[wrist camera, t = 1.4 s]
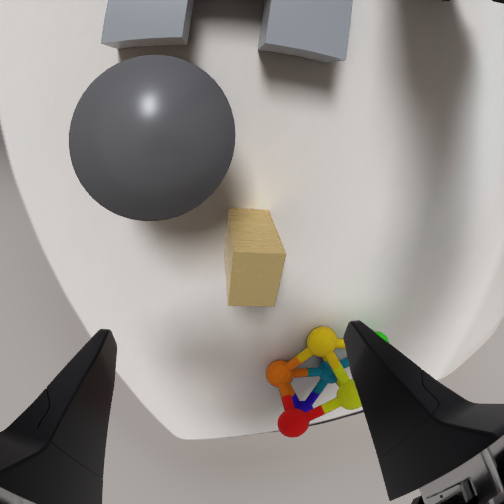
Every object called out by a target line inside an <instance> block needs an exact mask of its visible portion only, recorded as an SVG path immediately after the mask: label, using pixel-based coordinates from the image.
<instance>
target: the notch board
mask: <svg viewBox="0 0 504 504" xmlns="http://www.w3.org/2000/svg"><path fill="white" fill-rule="evenodd" d="M352 1H353V0H265V3H264V10H263V17H262V24H261V31H260V38H259V45H258V50H263V51H270V52H276V53H282V54H288V55H293V56H299V57H304V58H308V59H313V60H317V61H322V62H326V63H330V62H336V61H343V60H346V52H347V45H348V37H349V29H350V20H351V11H352ZM193 5H194V0H108V4H107V9H106V14H105V20H104V26H103V33H102V40H101V44H104V45H108V46H111V47H114V48H117V49H120V48H129V47H142V46H159V45H188V37H189V30H190V23H191V17H192V11H193Z"/></svg>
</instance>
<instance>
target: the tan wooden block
mask: <svg viewBox="0 0 504 504" xmlns="http://www.w3.org/2000/svg"><path fill="white" fill-rule="evenodd" d="M285 257H286V253H285V250H284V247H283V245H282V242H281V240H280V237H279V235H278V232H277V230H276V227H275V224H274V222H273V219H272V217H271V214H270V212H269V210H257V209H240V208H228V219H227V230H226V242H225V269H226V285H227V299H228V306H275V302H276V298H277V293H278V289H279V284H280V280H281V275H282V271H283V266H284V261H285Z"/></svg>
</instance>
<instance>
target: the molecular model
mask: <svg viewBox="0 0 504 504" xmlns="http://www.w3.org/2000/svg"><path fill="white" fill-rule="evenodd" d="M375 333H377V334H378V335H379V336H380V337H382V338H383V339H384V340H386V341H387V342H388V343H389V341H388V338H387V337H386V336H385V335H384V334H383V333H381V332H375ZM335 348H343V349H346V348H345V344H344V339H341V338H337V336H336V334H335V332H334V331H333V330H332V329H330V328H328V327H317V328H315V329H314V330H312V332H311V333H310V334H309V336H308V338H307V348H306V349H305V350H303V351H302V352H301V353H299V354H298V355H297V356H295V357H294V358H293V359H292V360H290V361H289V362H287V361H284V360H277V361H274V362H272V363H271V364H270V365H269V366H268V368H267V371H266V378H267V380H268V382H269V383H270V384H271V385H273V386H275V387H279V390H280V394H281V398H282V402H283V406H284V410H285V411H284V412H283V413H282V414H281V415H280V417H279V419H278V428H279V430H280V432H281V433H282V434H284V435H285V436H287V437H298V436H300V435H301V434H303V433H304V432H305V431H306V430H307V428H308V426H309V422H310V421H311V420H313V419H315V418H317V417H320V416H322V415H324V414H326V413H328V412H330V411H332V410H334V409H336V408H338V407H340V406H342V407H343V408H345V409H349V410H353V409H357V408H359V407H361V406H362V404H361V401H360V398H359V395H358V392H357V389H356V386H355V383H354V380H350V379H349V377H348V375H347V373H346V372H345V370H344V368H346V367H348V366H349V361H348V357H347V358H345V359H343V360H341V361H340V360H339V359H338V358H337V356H336V354H335V353H334V350H335ZM313 355H315V356H318V357H322V358H323V362H322V363H321V364H320V366H319V367H317V368H299V369H295V368H296V367H298V366H299V365H300V364H302V363H303V362H305V361H306V360H307V359H309V358H310V357H311V356H313ZM310 376H319V377H320V378H321V379H320V381H319V382H318V383H317V385H316V386H315V388H314V389H313V391H312V392H311V393H310V395H309V396H308V397H307V399H306V400H305V401H299V399H298V397H297V395H296V393H295V392H294V390H293V388H292V386H291V384H290V382H291V381H292V380H293V378H294V377H310ZM327 383H336V384H337V385H338V386H339V389H338V391H337V397H336V398H335V399H333V400H331V401H329V402H327V403H324V404H322V405H320V406H318V407H316V408H314V409H313V407H312V405H313V403H314V402H315V400H316V399H317V398H318V396H319V395H320V393H321V392H322V391H323V389H324V388H325V386H326V385H327Z"/></svg>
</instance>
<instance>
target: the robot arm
mask: <svg viewBox="0 0 504 504" xmlns="http://www.w3.org/2000/svg"><path fill="white" fill-rule="evenodd" d="M443 1H450V0H443ZM492 1H494V2H499V3H503V4H504V0H492ZM344 344H345V348H346V352H347V357H348V361H349V366H350V370H351V374H352V377H353V380H354V383H355V386H356V389H357V392H358V395H359V398H360V401H361V404H362V407H363V410H364V413H365V417H366V420H367V423H368V426H369V430H370V433H371V436H372V439H373V443H374V446H375V449H376V453H377V456H378V459H379V464H380V467H381V471H382V474H383V478H384V482H385V486H386V489H387V493H388V497H389V500H390V501H391V500H394V499H396V498H398V497H401V496H403V495H406V494H407V493H410V492H412V491H414V490H416V489H418V488H419V489H420V492H421V496H419V497H417V498H415V499H413V501H412V503H411V504H504V404H477V403H472V402H470V401H467V400H466V399H464V398H462V397H461V396H459V395H458V394H456V393H455V392H453V391H452V390H450V389H449V388H447V387H445V386H444V385H443V384H441V383H440V382H438V381H437V380H435V379H434V378H433V377H431V376H430V375H429V374H428V373H426V372H425V371H424V370H421V368H420V367H419V366H417V365H416V364H415V363H414V362H412V361H411V360H410V359H408V358H407V357H406V356H405V355H403V354H402V353H401V352H400V351H398V350H397V349H396V348H394V347H393V346H392V345H391V344H389V343H388V342H387V341H386V340H384V339H383V338H382V337H380V336H379V335H378V334H377V333H375V332H374V331H373V330H371V329H370V328H369V327H368V326H366V325H365V324H364V323H362V322H361V321H359V320H357V321H351V322H349V324H348V326H347V329H346V332H345V334H344ZM116 355H117V344H116V342H115V339H114V337H113V334H112V332H111V330H109V329H100V330H99V331H98V332H97V333H96V334H95V335H94V336H93V337H92V338H91V339H90V341H88V342H87V343H86V344H85V346H84V347H83V348H82V349H81V350H80V351H79V352H78V353H77V354H76V355H75V356H74V358H73V359H72V360H71V361H70V362H69V363H68V364H67V365H66V366H65V367H64V368H63V370H62V371H61V372H60V373H59V374H58V375H57V376H56V377H55V378H54V380H53V381H52V382H51V383H50V384H49V385H48V386H47V389H45V390H44V391H43V392H42V393H41V395H39V397H38V398H37V399H36V400H35V401H34V402H33V403H32V404H31V405H30V406H29V407H28V408H27V409H26V410H25V411H24V412H23V413H22V414H21V415H20V416H19V417H18V418H17V419H16V420H15V421H14V422H13V423H12V424H11V425H10V426H9V427H7V428H6V429H5V430H4V431H2V432H0V504H102V487H103V479H102V478H103V470H104V458H105V447H106V438H107V429H108V422H109V415H110V408H111V402H112V396H113V390H114V381H115V368H116Z"/></svg>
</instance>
